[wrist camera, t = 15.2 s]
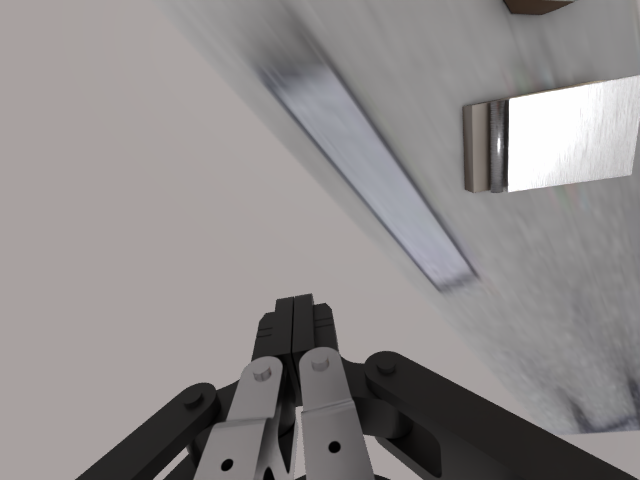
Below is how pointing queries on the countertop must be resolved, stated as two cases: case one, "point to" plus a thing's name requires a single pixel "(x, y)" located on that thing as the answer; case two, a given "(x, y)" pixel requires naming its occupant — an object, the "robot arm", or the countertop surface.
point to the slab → (565, 135)
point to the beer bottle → (536, 6)
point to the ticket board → (482, 143)
